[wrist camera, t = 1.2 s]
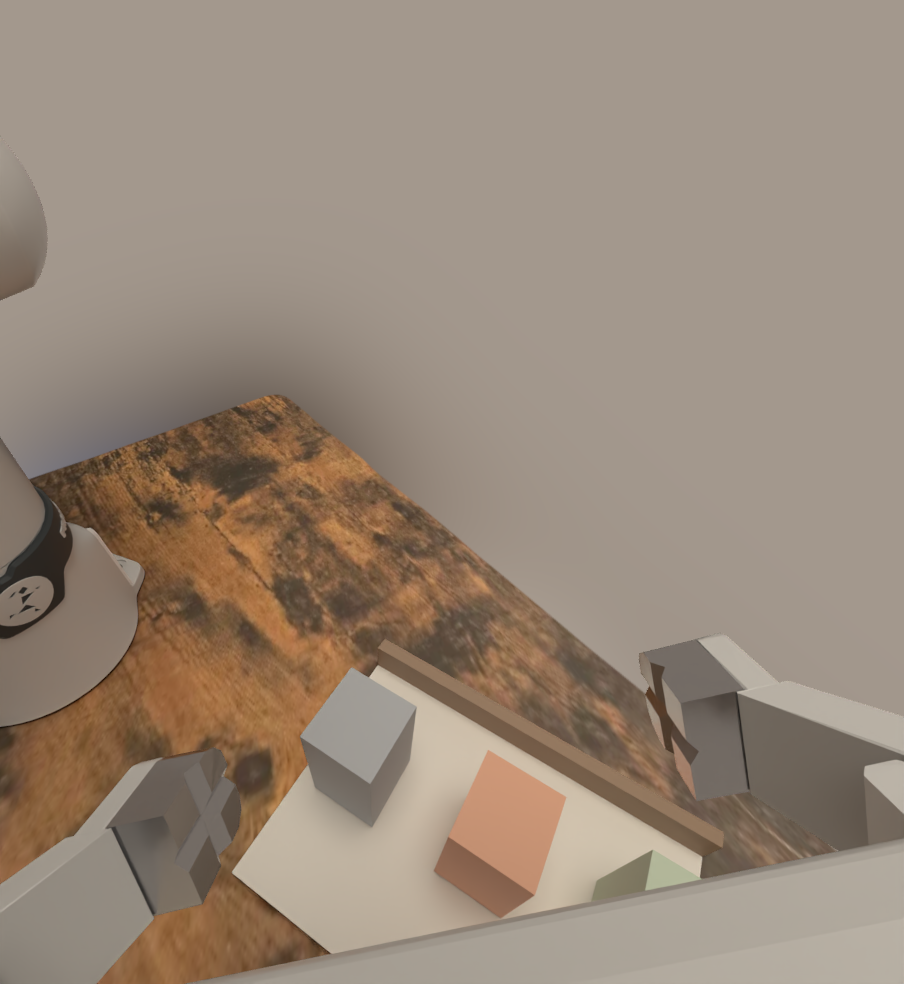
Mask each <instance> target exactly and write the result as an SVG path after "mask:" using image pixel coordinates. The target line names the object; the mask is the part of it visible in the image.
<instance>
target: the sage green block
mask: <svg viewBox="0 0 904 984" xmlns="http://www.w3.org/2000/svg"><path fill="white" fill-rule="evenodd" d="M696 880H701V878H699V877H698V876H696V875H695V874H693V873H691V872H690V871H688V870H686V869H685V868H683V867H681V866H680V865H678V864H676V863H675V862H673V861H671V860H670V859H668V858H666V857H665V856H663V855H661V854H660V853H658V852H656V851H655V850H651V851H649V852H647V853H646V854H644V855H642V856H640V857H638V858H637V859H635V860H633V861H631V862H629V863H627V864H626V865H624V866H622V867H620V868H618V869H617V870H615V871H613V872H611V873H609V874H607V875H606V876H604V877H602V878H600V879H598V880H597V881H596V885H595V889H594V893H593V897H592V901H596V900H601V899H606V898H611V897H616V896H621V895H626V894H631V893H636V892H641V891H646V890H651V889H656V888H661V887H666V886H671V885H676V884H681V883H686V882H691V881H696Z"/></svg>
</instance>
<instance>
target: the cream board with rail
mask: <svg viewBox="0 0 904 984" xmlns="http://www.w3.org/2000/svg"><path fill="white" fill-rule="evenodd" d="M369 678H370V679H372V680H373V681H375V682H377V683H378V684H380V685H382V686H383V687H385V688H387V689H388V690H390V691H392V692H393V693H395V694H397V695H398V696H400V697H402V698H403V699H405V700H406V701H408V702H410V703H411V704H413V705H415V706H416V707H417V709H416V717H415V724H414V732H413V740H412V748H411V755H410V761H409V763H408V765H407V766H406V768H405V770H404V772H403V773H402V775H401V777H400V779H399V781H398V782H397V784H396V786H395V788H394V789H393V791H392V793H391V795H390V797H389V798H388V800H387V802H386V804H385V805H384V807H383V809H382V811H381V812H380V814H379V816H378V818H377V820H376V821H375V823H374V825H373V827H371V826H369V825H368V824H366V823H365V822H364V821H362V820H361V819H359V818H358V817H357V816H355V815H354V814H352V813H351V812H349V811H348V810H347V809H345V808H344V807H342V806H341V805H340V804H338V803H337V802H335V801H334V800H332V799H331V798H330V797H328V796H327V795H325V794H324V793H322V792H321V791H320V790H318V789H317V788H315V785H314V782H313V779H312V775H311V772H310V769H309V765H307V766H306V768H305V769H304V771H303V772H302V773H301V775H300V776H299V778H298V779H297V781H296V782H295V783H294V785H293V786H292V788H291V789H290V790H289V792H288V793H287V795H286V796H285V798H284V799H283V800H282V802H281V803H280V805H279V806H278V807H277V809H276V810H275V812H274V813H273V815H272V816H271V817H270V819H269V820H268V822H267V823H266V824H265V826H264V827H263V829H262V830H261V832H260V833H259V834H258V836H257V837H256V839H255V840H254V841H253V843H252V844H251V846H250V847H249V849H248V850H247V851H246V853H245V854H244V856H243V857H242V858H241V860H240V861H239V863H238V864H237V866H236V867H235V868H234V870H233V871H232V873H233V874H234V875H235V876H236V877H237V878H239V879H240V880H241V881H242V882H244V883H245V884H246V885H247V886H248V887H250V888H251V889H252V890H253V891H255V892H256V893H257V894H258V895H260V896H261V897H262V898H263V899H264V900H266V901H267V902H268V903H269V904H271V905H272V906H273V907H274V908H276V909H277V910H278V911H279V912H280V913H282V914H283V915H284V916H285V917H287V918H288V919H289V920H290V921H292V922H293V923H294V924H295V925H296V926H298V927H299V928H300V929H301V930H303V931H304V932H305V933H306V934H308V935H309V936H310V937H311V938H312V939H314V940H315V941H316V942H317V943H319V944H320V945H321V946H322V947H324V948H325V949H326V950H327V951H328V952H330V953H331V954H334V953H339V952H344V951H348V950H353V949H358V948H363V947H368V946H373V945H378V944H383V943H388V942H393V941H397V940H402V939H407V938H412V937H417V936H422V935H427V934H432V933H437V932H442V931H447V930H451V929H456V928H461V927H466V926H471V925H476V924H481V923H486V922H491V921H496V920H501V919H506V918H511V917H516V916H521V915H526V914H531V913H536V912H541V911H546V910H551V909H556V908H561V907H566V906H571V905H576V904H581V903H586V902H591V901H592V897H593V893H594V889H595V885H596V881H597V880H598V879H600V878H602V877H604V876H606V875H607V874H609V873H611V872H613V871H615V870H617V869H618V868H620V867H622V866H624V865H626V864H627V863H629V862H631V861H633V860H635V859H637V858H638V857H640V856H642V855H644V854H646V853H647V852H649V851H651V850H655V851H656V852H658V853H660V854H661V855H663V856H665V857H666V858H668V859H670V860H671V861H673V862H675V863H676V864H678V865H680V866H681V867H683V868H685V869H686V870H688V871H690V872H691V873H693V874H695V875H696V876H698V877H699V878H700V871H701V863H702V857H703V856H705V855H708V854H710V853H712V852H714V851H717V850H719V849H721V848H722V847H723V837H724V832H722V831H720V830H719V829H717V828H715V827H713V826H712V825H710V824H708V823H706V822H705V821H703V820H701V819H699V818H698V817H696V816H694V815H692V814H691V813H689V812H687V811H685V810H684V809H682V808H680V807H678V806H677V805H675V804H673V803H671V802H670V801H668V800H666V799H664V798H663V797H661V796H659V795H657V794H656V793H654V792H652V791H650V790H649V789H647V788H645V787H643V786H642V785H640V784H638V783H636V782H635V781H633V780H631V779H629V778H628V777H626V776H624V775H622V774H621V773H619V772H617V771H615V770H614V769H612V768H610V767H608V766H607V765H605V764H603V763H601V762H600V761H598V760H596V759H594V758H593V757H591V756H589V755H587V754H586V753H584V752H582V751H580V750H579V749H577V748H575V747H573V746H572V745H570V744H568V743H566V742H565V741H563V740H561V739H559V738H558V737H556V736H554V735H552V734H551V733H549V732H547V731H545V730H544V729H542V728H540V727H538V726H537V725H535V724H533V723H531V722H530V721H528V720H526V719H524V718H523V717H521V716H519V715H517V714H516V713H514V712H512V711H510V710H509V709H507V708H505V707H503V706H502V705H500V704H498V703H496V702H495V701H493V700H491V699H489V698H488V697H486V696H484V695H482V694H481V693H479V692H477V691H475V690H474V689H472V688H470V687H468V686H467V685H465V684H463V683H461V682H460V681H458V680H456V679H454V678H453V677H451V676H449V675H447V674H446V673H444V672H442V671H440V670H439V669H437V668H435V667H433V666H432V665H430V664H428V663H426V662H425V661H423V660H421V659H419V658H418V657H416V656H414V655H412V654H411V653H409V652H407V651H405V650H404V649H402V648H400V647H398V646H397V645H395V644H393V643H391V642H390V641H388V640H386V639H384V641H383V642H382V643H381V645H380V646H379V647H378V666H377V667H376V669H375V670H374V671H373V673H372V674H371V676H370V677H369ZM488 750H489V751H491V752H493V753H494V754H496V755H498V756H499V757H501V758H503V759H504V760H506V761H507V762H509V763H511V764H512V765H514V766H516V767H517V768H519V769H521V770H522V771H524V772H526V773H527V774H529V775H531V776H532V777H534V778H536V779H537V780H539V781H541V782H542V783H544V784H546V785H547V786H549V787H551V788H552V789H554V790H555V791H557V792H559V793H560V794H562V795H564V796H565V797H566V800H565V803H564V806H563V810H562V813H561V816H560V819H559V822H558V825H557V828H556V831H555V834H554V838H553V841H552V844H551V847H550V850H549V853H548V856H547V859H546V862H545V865H544V869H543V872H542V875H541V878H540V881H539V884H538V887H537V890H536V893H535V896H533V897H532V898H530V899H529V900H527V901H526V902H524V903H523V904H521V905H520V906H518V907H517V908H515V909H514V910H512V911H511V912H509V913H508V914H506V915H505V916H503V917H502V918H500V917H498V916H497V915H496V914H494V913H493V912H491V911H490V910H489V909H487V908H486V907H484V906H483V905H481V904H480V903H479V902H477V901H476V900H474V899H473V898H472V897H470V896H469V895H467V894H466V893H464V892H463V891H462V890H460V889H459V888H457V887H456V886H454V885H453V884H452V883H450V882H449V881H447V880H446V879H445V878H443V877H442V876H440V875H439V874H437V873H436V872H435V871H434V869H435V867H436V865H437V862H438V860H439V857H440V855H441V853H442V850H443V848H444V846H445V843H446V841H447V839H448V836H449V834H450V832H451V830H452V828H453V825H454V823H455V821H456V819H457V817H458V814H459V812H460V810H461V808H462V806H463V804H464V801H465V799H466V797H467V795H468V793H469V790H470V788H471V786H472V784H473V782H474V779H475V777H476V775H477V773H478V771H479V769H480V766H481V764H482V762H483V760H484V758H485V755H486V753H487V751H488Z"/></svg>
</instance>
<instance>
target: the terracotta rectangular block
mask: <svg viewBox="0 0 904 984" xmlns="http://www.w3.org/2000/svg"><path fill="white" fill-rule="evenodd" d="M565 800H566V797H565V796H564V795H562V794H560V793H559V792H557V791H555V790H554V789H552V788H551V787H549V786H547V785H546V784H544V783H542V782H541V781H539V780H537V779H536V778H534V777H532V776H531V775H529V774H527V773H526V772H524V771H522V770H521V769H519V768H517V767H516V766H514V765H512V764H511V763H509V762H507V761H506V760H504V759H503V758H501V757H499V756H498V755H496V754H494V753H493V752H491V751H489V750H488V751H487V753H486V755H485V758H484V760H483V762H482V764H481V766H480V769H479V771H478V773H477V775H476V777H475V779H474V782H473V784H472V786H471V788H470V790H469V793H468V795H467V797H466V799H465V801H464V804H463V806H462V808H461V810H460V812H459V814H458V817H457V819H456V821H455V823H454V825H453V828H452V830H451V832H450V834H449V836H448V839H447V841H446V843H445V846H444V848H443V850H442V853H441V855H440V857H439V860H438V862H437V865H436V867H435V869H434V871H435V872H436V873H437V874H439V875H440V876H442V877H443V878H445V879H446V880H447V881H449V882H450V883H452V884H453V885H454V886H456V887H457V888H459V889H460V890H462V891H463V892H464V893H466V894H467V895H469V896H470V897H472V898H473V899H474V900H476V901H477V902H479V903H480V904H481V905H483V906H484V907H486V908H487V909H489V910H490V911H491V912H493V913H494V914H496V915H497V916H498V917H500V918H502V917H503V916H505V915H506V914H508V913H509V912H511V911H512V910H514V909H515V908H517V907H518V906H520V905H521V904H523V903H524V902H526V901H527V900H529V899H530V898H532V897H533V896H535V893H536V890H537V887H538V884H539V881H540V878H541V875H542V872H543V869H544V865H545V862H546V859H547V856H548V853H549V850H550V847H551V844H552V841H553V838H554V834H555V831H556V828H557V825H558V822H559V819H560V816H561V813H562V810H563V806H564V803H565Z"/></svg>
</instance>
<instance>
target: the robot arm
mask: <svg viewBox="0 0 904 984" xmlns="http://www.w3.org/2000/svg"><path fill="white" fill-rule="evenodd" d="M46 253H47V226H46V221H45V216H44V211H43V208H42V204H41V202H40V199H39V197H38V194H37V192H36V190H35V187H34V185H33V183H32V181H31V179H30V177H29V175H28V174H27V172H26V170H25V168H24V167H23V165H22V164H21V162H20V161H19V159H18V158H17V157H16V155H15V154H14V152H13V151H12V150H11V148H10V147H9V146H8V145H7V143H6V142H5V141H4V140H3V139H2V138H1V136H0V300H3V299H5V298H7V297H10V296H12V295H15V294H17V293H20V292H22V291H24V290H27V289H29V288H31V287H33V286H34V285H35V284H36V282H37V280H38V278H39V277H40V275H41V272H42V269H43V266H44V263H45V258H46ZM144 575H145V571H144V569H143V568H142V567H141V565H140V564H139V563H138V562H136V561H133V560H130V559H127V558H124V557H121V556H118V555H115V554H112V553H111V552H110V550H109V549H108V547H107V546H106V545H105V543H104V542H103V541H102V539H101V538H100V536H99V535H98V534H97V533H96V532H95V531H94V530H93V529H92V528H86V529H85V528H83V527H81V526H79V525H76V524H72V523H68V522H66V521H65V518H64V516H63V514H62V512H61V511H60V509H59V508H58V507H57V505H56V504H55V503H54V502H52V501H51V499H49V497H48V496H47V495H46V494H45V493H44V492H43V491H42V490H41V489H39V488H38V487H35V486H33V485H32V484H31V482H30V481H29V479H28V478H27V476H26V475H25V473H24V472H23V470H22V469H21V467H20V466H19V464H18V463H17V462H16V460H15V458H14V457H13V455H12V454H11V453H10V451H9V450H8V448H7V447H6V445H5V444H4V442H3V441H2V439H1V438H0V727H2V726H10V725H15V724H20V723H24V722H27V721H31V720H34V719H37V718H40V717H42V716H45V715H47V714H50V713H52V712H54V711H56V710H58V709H60V708H62V707H64V706H66V705H68V704H70V703H71V702H73V701H75V700H76V699H78V698H79V697H81V696H82V695H84V694H85V693H87V692H88V691H89V690H91V689H92V688H93V687H94V686H96V685H97V684H98V683H99V682H100V681H101V680H102V679H104V678H105V677H106V676H107V675H108V674H109V673H110V672H111V670H112V669H113V668H114V667H115V666H116V665H117V663H118V662H119V661H120V660H121V658H122V657H123V655H124V654H125V652H126V651H127V649H128V647H129V645H130V644H131V641H132V639H133V637H134V634H135V631H136V627H137V622H138V608H137V593H138V591H139V589H140V587H141V584H142V582H143V579H144ZM639 663H640V669H641V674H642V675H643V677H644V678H645V680H646V681H647V683H648V684H649V688H648V690H647V692H646V694H645V697H646V701H647V706H648V711H649V714H650V717H651V720H652V723H653V726H654V729H655V731H656V733H657V735H658V737H659V739H660V741H661V743H662V744H663V746H664V748H665V749H666V750H668V751H670V752H672V753H673V754H674V755H675V761H676V766H677V770H678V771H679V773H680V775H681V776H682V778H683V780H684V781H685V783H686V785H687V786H688V788H689V789H690V791H691V793H692V794H693V796H694V798H695V799H696V801H699V800H704V799H710V798H716V797H721V796H727V795H733V794H738V793H744V792H749V791H750V794H751V795H753V796H754V797H756V798H757V799H759V800H760V801H762V802H764V803H765V804H767V805H768V806H770V807H771V808H773V809H775V810H776V811H778V812H779V813H781V814H782V815H784V816H785V817H787V818H789V819H790V820H792V821H793V822H795V823H796V824H798V825H799V826H801V827H803V828H804V829H806V830H807V831H809V832H810V833H812V834H813V835H815V836H817V837H818V838H820V839H821V840H823V841H824V842H826V843H827V844H829V845H831V846H832V847H834V848H835V849H837V850H838V851H837V852H832V853H827V854H822V855H818V856H813V857H808V858H803V859H798V860H793V861H788V862H783V863H778V864H773V865H768V866H763V867H758V868H754V869H749V870H744V871H739V872H734V873H730V874H725V875H720V876H715V877H710V878H706V879H701V880H696V881H691V882H686V883H681V884H676V885H671V886H666V887H661V888H656V889H651V890H646V891H641V892H636V893H631V894H626V895H621V896H616V897H611V898H606V899H601V900H596V901H591V902H586V903H581V904H576V905H571V906H566V907H561V908H556V909H551V910H546V911H541V912H536V913H531V914H526V915H521V916H516V917H511V918H506V919H501V920H496V921H491V922H486V923H481V924H476V925H471V926H466V927H461V928H456V929H451V930H447V931H442V932H437V933H432V934H427V935H422V936H417V937H412V938H407V939H402V940H397V941H393V942H388V943H383V944H378V945H373V946H368V947H363V948H358V949H353V950H348V951H344V952H339V953H334V954H329V955H324V956H319V957H314V958H309V959H304V960H299V961H294V962H290V963H285V964H280V965H275V966H270V967H265V968H260V969H255V970H250V971H245V972H240V973H235V974H231V975H226V976H221V977H216V978H211V979H206V980H201V981H196V982H191V983H186V984H904V717H903V716H900V715H897V714H893V713H890V712H887V711H884V710H881V709H877V708H874V707H871V706H867V705H865V704H861V703H858V702H855V701H852V700H848V699H845V698H842V697H839V696H836V695H832V694H829V693H826V692H823V691H820V690H816V689H813V688H810V687H807V686H804V685H800V684H797V683H794V682H791V681H785V682H780V683H779V682H778V681H777V680H776V679H775V678H774V677H772V676H771V675H770V674H769V673H768V672H767V671H766V670H764V669H763V668H762V667H761V666H760V665H759V664H758V663H757V662H756V661H754V660H753V659H752V658H751V657H750V656H749V655H748V654H746V653H745V652H744V651H743V650H742V649H741V648H740V647H738V646H737V645H736V644H735V643H734V642H733V641H732V640H730V639H729V638H728V637H727V636H726V635H725V634H722V633H717V634H713V635H709V636H705V637H702V638H698V639H694V640H692V641H687V642H683V643H679V644H675V645H672V646H667V647H663V648H659V649H655V650H651V651H647V652H643V653H639ZM226 768H227V763H226V761H225V759H224V756H223V754H222V752H221V750H218V749H216V748H208V749H203V750H198V751H193V752H188V753H182V754H177V755H172V756H167V757H164V758H157V759H153V760H149V761H145V762H141V763H139V764H136V765H134V766H132V767H131V768H130V769H129V771H128V772H127V773H126V774H125V775H124V777H123V778H122V779H121V780H120V781H119V783H118V784H117V785H116V786H115V787H114V789H113V790H112V791H111V792H110V793H109V795H108V796H107V797H106V798H105V799H104V801H103V802H102V803H101V804H100V805H99V807H98V808H97V809H96V810H95V811H94V813H93V814H92V815H91V816H90V817H89V819H88V820H87V821H86V822H85V823H84V825H83V826H82V827H81V828H80V829H79V831H78V832H77V833H76V834H75V835H74V836H72V837H68V838H65V839H63V840H62V841H61V842H59V843H58V844H56V845H55V846H54V847H52V848H51V849H49V850H48V851H47V852H45V853H44V854H42V855H41V856H40V857H38V858H37V859H35V860H34V861H32V862H31V863H30V864H28V865H27V866H25V867H24V868H23V869H21V870H20V871H18V872H17V873H16V874H14V875H13V876H11V877H10V878H9V879H7V880H6V881H4V882H3V883H2V884H0V984H97V982H98V981H99V980H100V979H101V978H102V977H103V976H104V975H105V973H106V972H107V971H108V970H109V969H110V968H111V967H112V966H113V964H114V963H115V962H116V961H117V960H118V959H119V958H120V957H121V955H122V954H123V953H124V952H125V951H126V950H127V949H128V948H129V946H130V945H131V944H132V943H133V942H134V941H135V940H136V939H137V937H138V936H139V935H140V934H141V933H142V932H143V931H144V930H145V928H146V927H147V926H148V925H149V924H150V923H151V922H152V921H153V919H154V917H153V916H156V915H160V914H164V913H168V912H172V911H176V910H180V909H184V908H188V907H193V906H197V905H201V904H203V902H204V900H205V898H206V896H207V894H208V892H209V890H210V888H211V886H212V883H213V881H214V879H215V877H216V875H217V873H218V871H219V869H220V867H221V864H220V860H219V856H218V855H219V854H220V853H221V852H222V851H223V850H224V849H225V848H226V847H227V846H228V845H229V844H230V843H231V842H232V841H233V839H234V836H235V834H236V832H237V830H238V827H239V821H240V815H241V803H240V796H239V793H238V790H237V788H236V785H235V784H234V783H232V782H231V781H230V780H228V779H227V778H225V777H224V774H225V771H226Z"/></svg>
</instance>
